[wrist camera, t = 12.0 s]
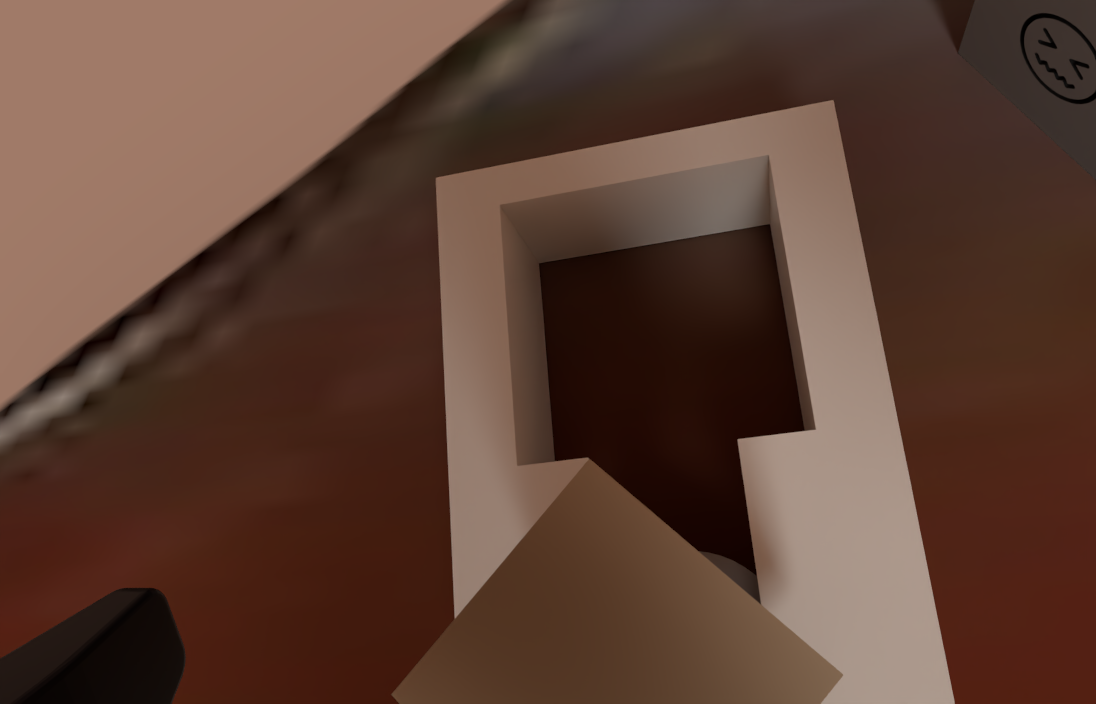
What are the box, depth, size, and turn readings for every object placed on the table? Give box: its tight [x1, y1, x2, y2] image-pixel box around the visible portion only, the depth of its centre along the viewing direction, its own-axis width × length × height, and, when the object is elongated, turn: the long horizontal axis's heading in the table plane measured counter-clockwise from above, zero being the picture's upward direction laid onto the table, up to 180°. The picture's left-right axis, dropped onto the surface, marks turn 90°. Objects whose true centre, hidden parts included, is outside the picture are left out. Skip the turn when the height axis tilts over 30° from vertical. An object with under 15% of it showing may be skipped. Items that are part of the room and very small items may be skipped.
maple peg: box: [391, 459, 843, 704], centre depth 14 cm, size 4×4×12 cm
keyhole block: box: [436, 100, 955, 704], centre depth 19 cm, size 14×9×4 cm, turn 5°
